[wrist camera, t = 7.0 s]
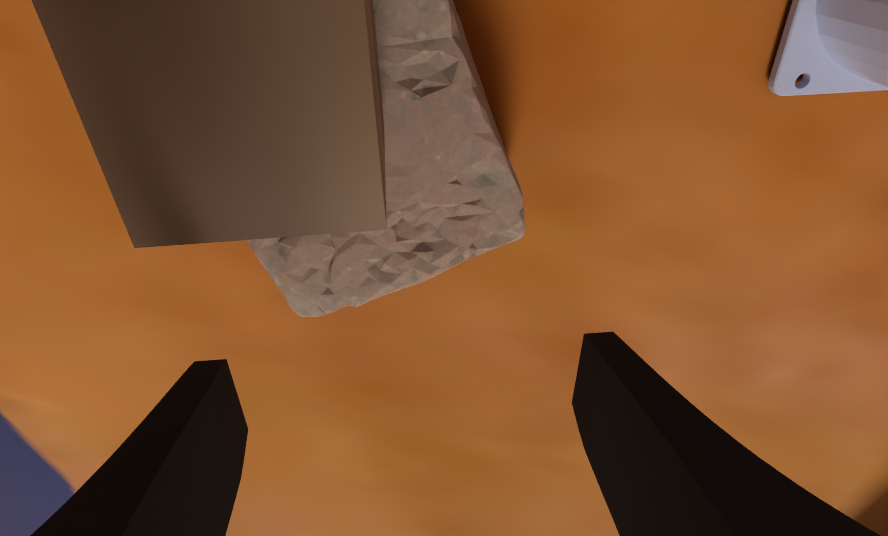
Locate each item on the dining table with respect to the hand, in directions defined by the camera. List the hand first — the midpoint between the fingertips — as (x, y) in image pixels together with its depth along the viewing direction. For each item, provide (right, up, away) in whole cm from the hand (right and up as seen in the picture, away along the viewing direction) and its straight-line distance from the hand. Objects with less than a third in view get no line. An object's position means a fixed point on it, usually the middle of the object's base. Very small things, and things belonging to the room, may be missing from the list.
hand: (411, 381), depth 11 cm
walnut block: (-3, +8, +2) cm, 9 cm away
